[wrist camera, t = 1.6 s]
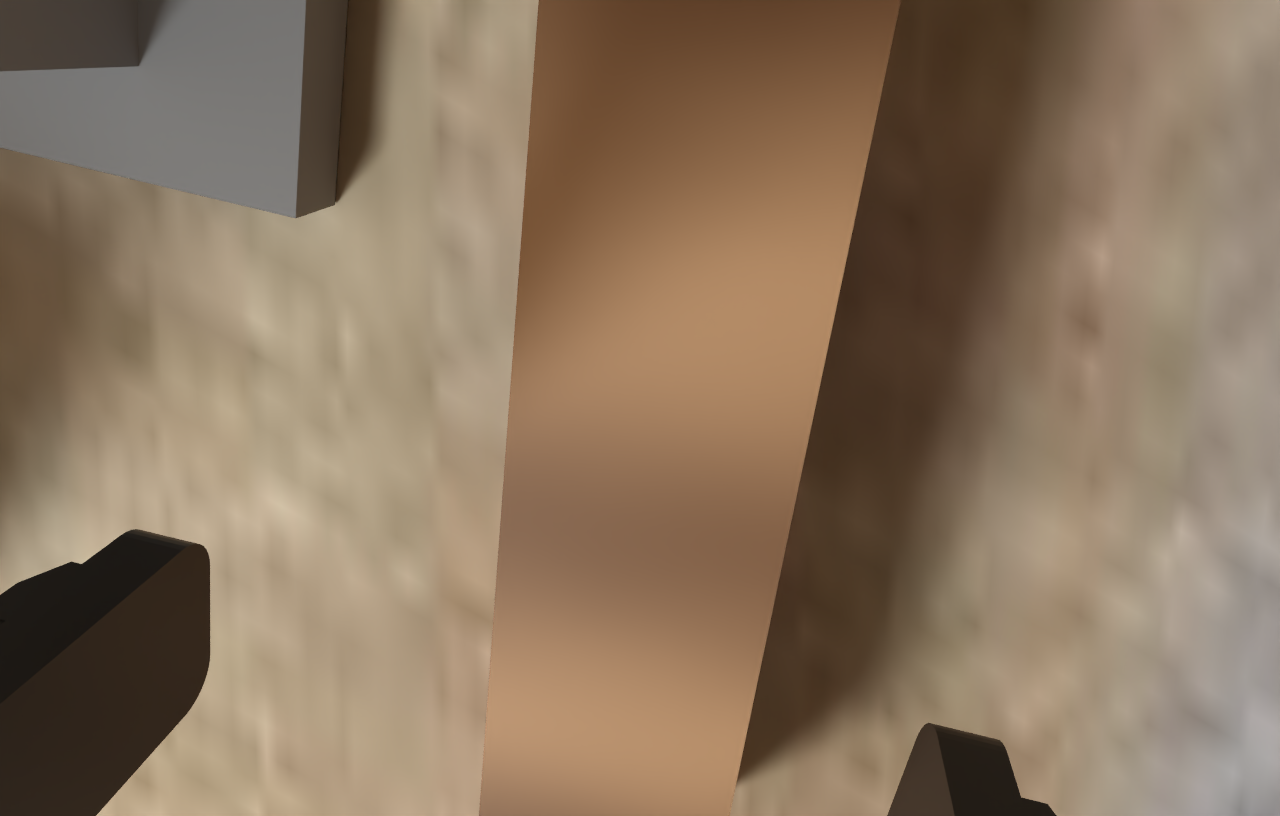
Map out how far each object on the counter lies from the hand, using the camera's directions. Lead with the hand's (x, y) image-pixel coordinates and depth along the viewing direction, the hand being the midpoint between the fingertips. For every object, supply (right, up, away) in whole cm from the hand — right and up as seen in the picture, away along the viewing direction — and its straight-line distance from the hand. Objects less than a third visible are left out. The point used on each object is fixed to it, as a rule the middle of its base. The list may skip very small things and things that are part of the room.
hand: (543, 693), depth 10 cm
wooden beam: (+2, +4, +8) cm, 9 cm away
